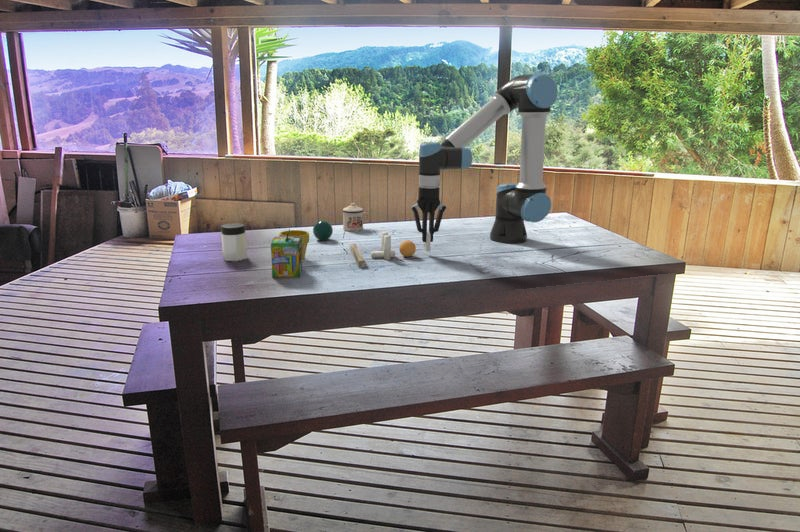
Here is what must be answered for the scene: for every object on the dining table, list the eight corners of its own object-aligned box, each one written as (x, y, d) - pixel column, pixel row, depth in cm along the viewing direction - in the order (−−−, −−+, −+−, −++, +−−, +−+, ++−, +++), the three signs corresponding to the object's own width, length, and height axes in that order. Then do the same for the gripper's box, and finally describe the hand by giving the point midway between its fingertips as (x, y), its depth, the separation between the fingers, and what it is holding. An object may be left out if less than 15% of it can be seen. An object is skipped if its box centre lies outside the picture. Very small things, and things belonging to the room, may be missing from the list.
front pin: (394, 249, 208) (371, 250, 206) (395, 252, 206) (372, 253, 204) (393, 255, 209) (370, 256, 207) (395, 258, 207) (371, 259, 205)
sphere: (331, 242, 227) (331, 223, 225) (311, 242, 228) (311, 222, 225) (334, 237, 235) (333, 218, 233) (314, 237, 235) (314, 218, 233)
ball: (397, 239, 208) (398, 254, 211) (401, 244, 203) (401, 260, 205) (413, 237, 210) (413, 252, 212) (417, 242, 204) (417, 258, 207)
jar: (249, 260, 201) (247, 226, 198) (225, 262, 198) (223, 228, 194) (244, 254, 209) (242, 222, 205) (221, 256, 205) (218, 223, 202)
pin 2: (389, 257, 206) (390, 235, 204) (391, 259, 204) (391, 236, 202) (383, 258, 206) (383, 235, 203) (384, 260, 203) (384, 236, 201)
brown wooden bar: (355, 249, 217) (355, 243, 216) (364, 267, 194) (364, 260, 193) (350, 250, 216) (350, 243, 215) (359, 267, 194) (359, 260, 193)
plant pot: (306, 254, 209) (305, 228, 206) (312, 262, 200) (312, 234, 197) (278, 257, 205) (276, 230, 203) (283, 264, 196) (282, 237, 193)
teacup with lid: (346, 232, 245) (345, 205, 242) (340, 228, 253) (340, 202, 250) (372, 230, 249) (372, 204, 246) (366, 226, 258) (365, 200, 254)
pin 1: (387, 254, 211) (387, 232, 209) (388, 256, 209) (388, 233, 206) (380, 254, 210) (381, 232, 208) (382, 256, 208) (382, 233, 206)
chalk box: (275, 269, 190) (273, 226, 186) (303, 269, 191) (301, 226, 187) (271, 278, 181) (268, 232, 177) (300, 278, 182) (298, 232, 178)
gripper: (443, 184, 208) (441, 247, 215) (409, 185, 205) (407, 248, 212) (449, 187, 201) (447, 252, 208) (413, 188, 198) (412, 253, 205)
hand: (427, 250), depth 210 cm, fingers closed
